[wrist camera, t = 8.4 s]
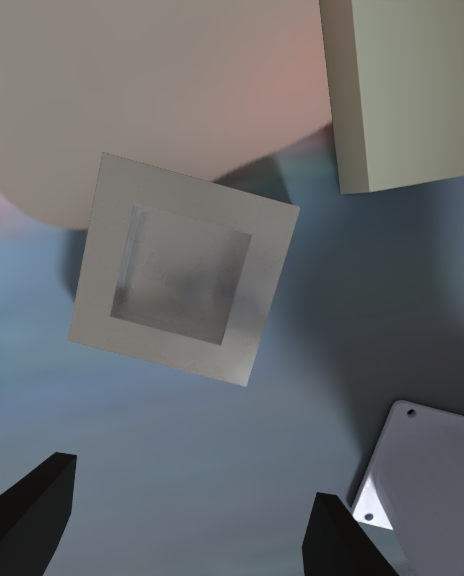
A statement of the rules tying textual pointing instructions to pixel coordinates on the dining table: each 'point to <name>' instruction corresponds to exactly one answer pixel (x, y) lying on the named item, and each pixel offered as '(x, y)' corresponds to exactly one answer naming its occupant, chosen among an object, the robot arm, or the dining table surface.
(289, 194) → the dining table surface
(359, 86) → the socket
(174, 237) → the stand
